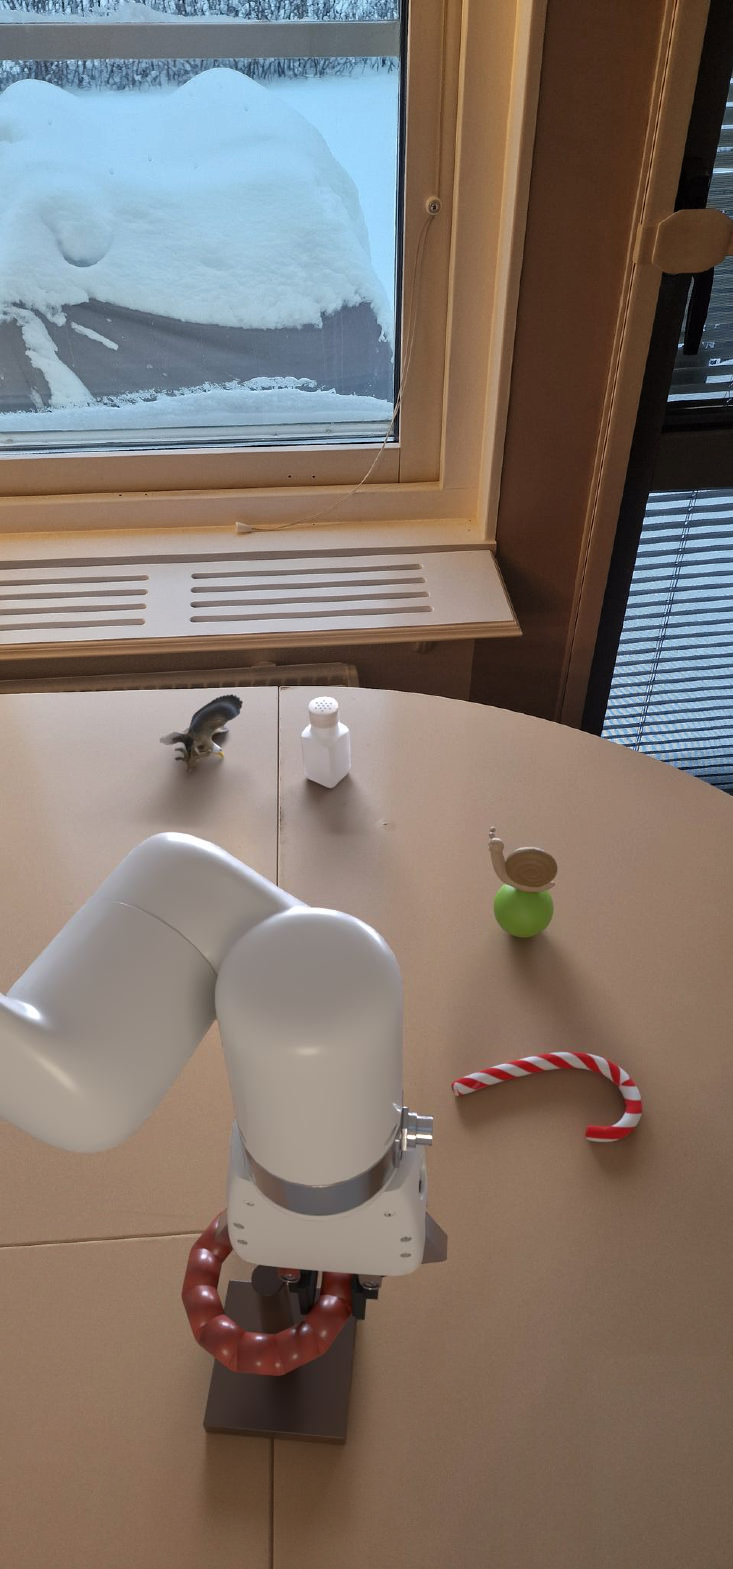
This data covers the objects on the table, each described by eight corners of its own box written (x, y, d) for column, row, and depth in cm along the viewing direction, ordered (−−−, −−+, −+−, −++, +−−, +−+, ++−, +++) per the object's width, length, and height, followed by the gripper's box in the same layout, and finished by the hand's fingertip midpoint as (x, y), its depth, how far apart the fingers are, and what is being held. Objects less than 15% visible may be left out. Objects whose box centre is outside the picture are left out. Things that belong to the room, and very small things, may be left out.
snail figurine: (484, 899, 99) (492, 808, 91) (552, 908, 98) (566, 817, 90) (477, 943, 95) (485, 852, 87) (548, 953, 94) (562, 862, 86)
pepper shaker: (302, 778, 113) (296, 709, 106) (323, 758, 115) (319, 689, 109) (331, 791, 111) (327, 722, 104) (353, 771, 113) (350, 702, 107)
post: (205, 1432, 66) (174, 1354, 57) (231, 1287, 73) (207, 1196, 64) (345, 1445, 65) (336, 1368, 56) (358, 1298, 72) (353, 1208, 63)
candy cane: (450, 1048, 85) (633, 1049, 85) (449, 1057, 86) (630, 1058, 86) (454, 1135, 80) (650, 1136, 79) (453, 1143, 80) (647, 1145, 80)
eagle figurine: (235, 775, 111) (259, 713, 117) (190, 734, 107) (217, 672, 113) (187, 789, 116) (213, 729, 121) (142, 750, 112) (171, 690, 117)
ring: (169, 1371, 58) (164, 1358, 56) (204, 1198, 65) (200, 1183, 64) (347, 1386, 57) (346, 1373, 56) (363, 1209, 64) (362, 1194, 63)
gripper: (494, 1069, 50) (474, 1238, 63) (170, 1047, 52) (212, 1217, 64) (495, 1221, 45) (472, 1372, 57) (131, 1192, 46) (186, 1347, 58)
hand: (335, 1289), depth 60 cm, fingers closed on ring, 2 cm apart
